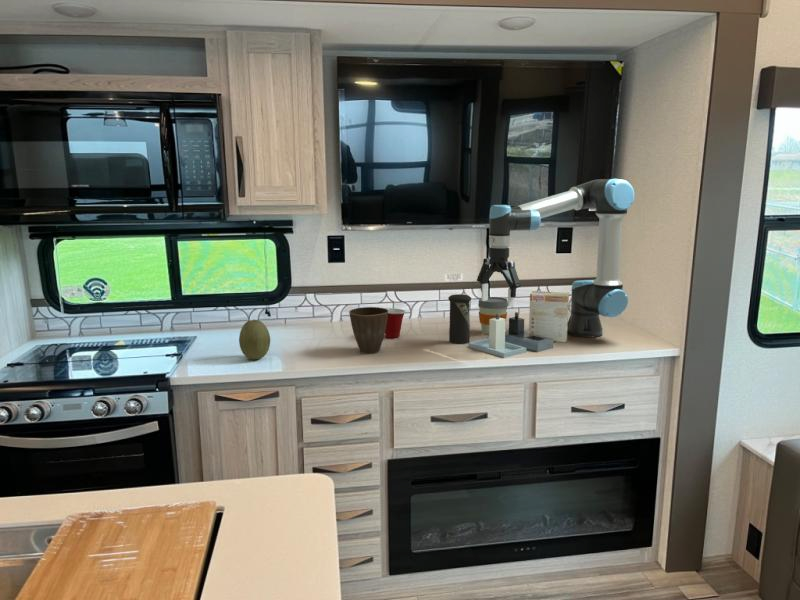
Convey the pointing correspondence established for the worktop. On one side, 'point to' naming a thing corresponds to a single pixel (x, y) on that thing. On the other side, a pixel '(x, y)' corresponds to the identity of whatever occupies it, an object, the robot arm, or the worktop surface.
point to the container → (459, 319)
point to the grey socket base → (526, 336)
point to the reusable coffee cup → (491, 311)
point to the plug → (497, 333)
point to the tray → (509, 350)
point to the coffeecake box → (549, 315)
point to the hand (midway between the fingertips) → (497, 303)
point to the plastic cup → (394, 322)
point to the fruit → (254, 339)
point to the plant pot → (369, 327)
